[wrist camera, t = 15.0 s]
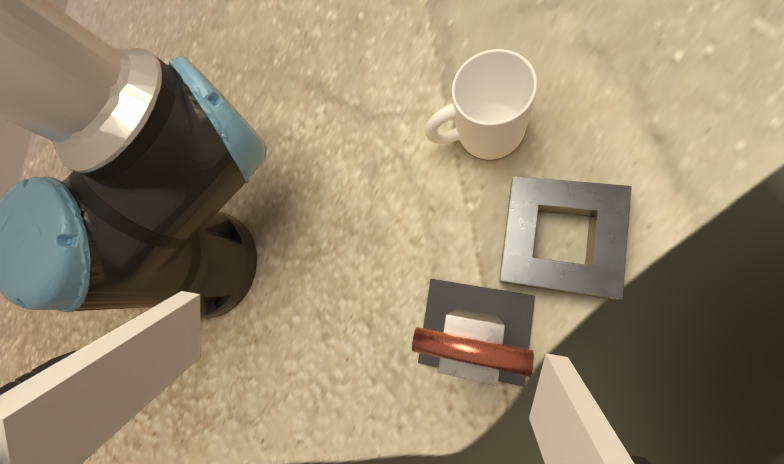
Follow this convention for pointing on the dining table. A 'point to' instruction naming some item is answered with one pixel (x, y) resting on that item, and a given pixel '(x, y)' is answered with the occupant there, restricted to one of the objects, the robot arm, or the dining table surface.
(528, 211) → the grey square ring
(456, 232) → the dining table surface
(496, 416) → the dining table surface
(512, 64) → the mug
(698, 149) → the dining table surface
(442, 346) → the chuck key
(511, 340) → the mat
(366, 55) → the dining table surface
